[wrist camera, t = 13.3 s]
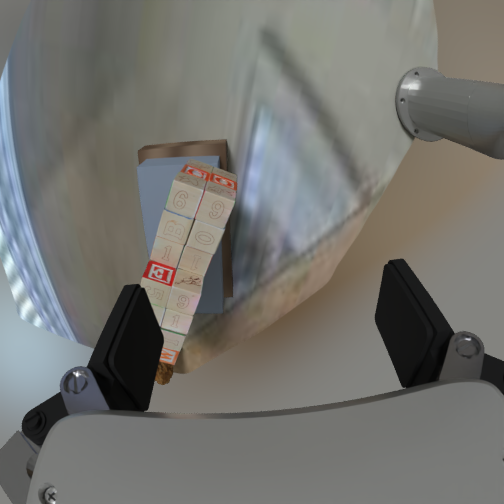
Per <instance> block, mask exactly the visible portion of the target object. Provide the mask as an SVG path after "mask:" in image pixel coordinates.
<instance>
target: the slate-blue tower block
mask: <svg viewBox="0 0 504 504" xmlns="http://www.w3.org/2000/svg"><path fill="white" fill-rule="evenodd" d="M189 159H194V160H197V161H200V162H203V163H206V164H209V165H211V166H213V167H216V168H219V169H220V156H191V157H170V158H154V159H146V160H145V161H144V162H143V163H141V164H140V165H139V166H138V167H137V174H138V184H139V192H140V200H141V208H142V215H143V222H144V229H145V236H146V242H147V248H148V254H149V260H150V257H151V253H152V249H153V244H154V241H155V237H156V234H157V230H158V227H159V223H160V220H161V216H162V213H163V210H164V208H165V205H166V201H167V198H168V195H169V191H170V188H171V185H172V182H173V180H174V178H175V177H176V175H177V174H178V172H180V171H181V170H182V168H183V167H184V165H185V164H186V163H187V161H188V160H189ZM223 299H224V291H223V268H222V241H220V243H219V246H218V248H217V250H216V252H215V254H214V255H213V257H212V260H211V262H210V264H209V267H208V269H207V272H206V274H205V276H204V281H203V287H202V294H201V298H200V300H199V303H198V306H197V308H196V311H195V313H223Z"/></svg>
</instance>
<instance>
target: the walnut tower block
mask: <svg viewBox="0 0 504 504" xmlns="http://www.w3.org/2000/svg"><path fill="white" fill-rule="evenodd" d="M191 156H220V169H221V170H224V171H227V144H226V140H206V141H190V142H178V143H167V144H157V145H147V146H144V147H143V148H141V149H140V150H138V158H139V165H140V164H141V163H143V162H144V161H145V160H146V159H154V158H170V157H191ZM221 241H222V268H223V291H224V297H233V277H232V259H231V239H230V219H229V218H228V221H227V223H226V225H225V231H224V234H223V236H222V238H221Z"/></svg>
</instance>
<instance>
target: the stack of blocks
mask: <svg viewBox="0 0 504 504" xmlns="http://www.w3.org/2000/svg"><path fill="white" fill-rule="evenodd" d="M236 192H237V175H235V174H232V173H229V172H227V171H224V170H221V169H219V168H216V167H213V166H211V165H209V164H206V163H203V162H200V161H197V160H194V159H189V160H188V161H187V163H186V164H185V165H184V167H183V168H182V170H181V171H180V172H178V174H177V175H176V177H175V178H174V180H173V182H172V185H171V188H170V191H169V195H168V198H167V201H166V205H165V208H164V210H163V213H162V216H161V220H160V223H159V227H158V230H157V234H156V237H155V241H154V244H153V249H152V253H151V257H150V260H149V262H148V265H147V267H146V269H145V272H144V274H143V277H142V281H141V287H143V288H145V290H146V292H147V295H148V298H149V300H150V303H151V306H152V308H153V311H154V313H155V316H156V318H157V321H158V323H159V326H160V328H161V331H162V333H163V336H164V345H163V349H162V353H161V357H160V361H161V362H164V363H168V364H172V365H175V363H176V360H177V357H178V355H179V352H180V351H181V348H182V345H183V342H184V340H185V336H186V334H188V331H189V328H190V325H191V323H192V320H193V316H194V314H195V311H196V308H197V306H198V303H199V300H200V298H201V294H202V287H203V281H204V276H205V274H206V272H207V269H208V267H209V264H210V262H211V260H212V257H213V255H214V254H215V252H216V250H217V248H218V246H219V243H220V241H221V238H222V236H223V234H224V231H225V225H226V223H227V221H228V218H229V216H230V214H231V211H232V209H233V207H234V205H235V201H236Z"/></svg>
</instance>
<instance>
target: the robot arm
mask: <svg viewBox="0 0 504 504" xmlns="http://www.w3.org/2000/svg"><path fill="white" fill-rule="evenodd" d="M414 73H415V74H414ZM400 100H401V101H400ZM396 107H397V112H398V115H399V118H400V120H401V122H402V124H403V125H404V127H405V128H406V129H407V130H408V131H409V133H410V134H412V135H413V136H415V137H417V138H419V139H421V140H424V141H430V142H432V141H438V140H440V139H442V138H445V139H448V140H450V141H453V142H456V143H458V144H461V145H463V146H466V147H468V148H471V149H473V150H475V151H478V152H480V153H482V154H485V155H487V156H489V157H492V158H495V159H501V160H502V159H504V84H498V83H492V82H483V81H476V80H467V79H457V78H446V77H445V76H444V75H443V74H441V73H440V72H438V71H437V70H435V69H432V68H427V67H418V68H414V69H412V70H410V71H408V72H407V73H406V74H405V75H404V76H403V77H402V79H401V80H400V82H399V85H398V87H397V92H396ZM414 130H415V131H414ZM375 322H376V325H377V327H378V330H379V332H380V334H381V337H382V339H383V341H384V344H385V346H386V348H387V351H388V353H389V356H390V358H391V360H392V363H393V365H394V368H395V370H396V373H397V375H398V378H399V381H400V383H401V385H402V387H403V388H405V387H406V389H402V390H398V391H393V392H389V393H384V394H379V395H375V396H370V397H366V398H361V399H355V400H350V401H344V402H338V403H331V404H325V405H318V406H310V407H303V408H294V409H285V410H273V411H260V412H243V413H214V414H213V413H212V414H192V413H191V414H190V413H189V414H188V413H186V414H185V413H159V412H144V411H147V410H148V408H149V403H150V399H151V394H152V390H153V386H154V381H155V377H156V373H157V369H158V365H159V361H160V357H161V353H162V349H163V345H164V336H163V333H162V331H161V328H160V326H159V323H158V321H157V318H156V316H155V313H154V311H153V308H152V306H151V303H150V300H149V298H148V295H147V292H146V290H145V288H143V287H141V286H140V285H139V284H132V285H125V286H124V288H123V290H122V292H121V294H120V296H119V298H118V300H117V302H116V304H115V306H114V308H113V310H112V312H111V314H110V316H109V318H108V320H107V322H106V325H105V327H104V329H103V331H102V333H101V335H100V338H99V340H98V342H97V344H96V347H95V349H94V351H93V354H92V356H91V358H90V361H89V363H88V366H87V367H82V366H79V367H74V368H72V369H70V370H69V371H67V372H66V374H65V375H64V376H63V377H62V379H61V382H60V391H61V392H59V393H57V394H56V395H54V396H53V397H51V398H50V399H48V400H46V401H45V402H43V403H41V404H40V405H38V406H37V407H35V408H33V409H32V410H30V411H29V412H28V413H27V414H26V415H25V417H24V419H23V421H22V431H21V432H19V431H17V432H16V433H15V434H14V435H13V436H12V437H11V438H10V439H9V440H8V442H7V443H6V444H5V445H4V446H3V447H2V448H1V449H0V485H1V486H2V488H3V490H4V491H5V493H6V494H7V496H8V497H9V499H10V500H11V502H12V503H13V504H504V361H502V360H500V359H497V358H495V357H492V356H490V355H487V354H485V353H484V345H483V343H482V341H481V340H480V338H479V337H477V336H476V335H475V334H472V333H470V332H466V331H463V332H458V333H454V331H453V330H452V328H451V327H450V325H449V324H448V322H447V320H446V319H445V317H444V316H443V314H442V313H441V311H440V310H439V308H438V307H437V305H436V304H435V303H434V301H433V299H432V298H431V296H430V295H429V293H428V292H427V291H426V289H425V288H424V287H423V285H422V284H421V282H420V281H419V279H418V278H417V277H416V275H415V274H414V272H413V271H412V270H411V268H410V267H409V266H408V264H407V263H406V261H405V260H404V259H396V260H390V261H389V262H388V264H386V265H385V266H384V270H383V276H382V282H381V287H380V293H379V298H378V303H377V308H376V313H375Z"/></svg>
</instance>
